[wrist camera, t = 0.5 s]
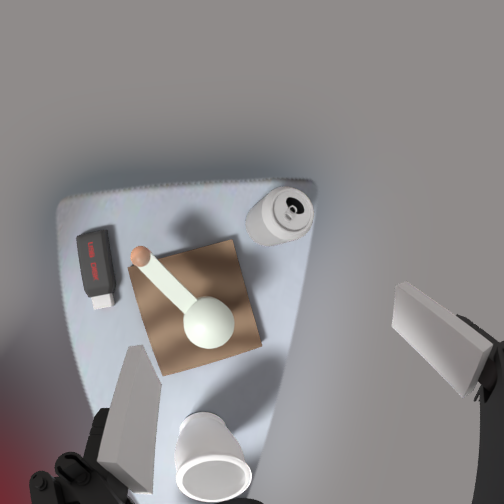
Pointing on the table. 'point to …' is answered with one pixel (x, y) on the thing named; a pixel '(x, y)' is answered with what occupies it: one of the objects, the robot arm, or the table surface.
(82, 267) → the usb drive
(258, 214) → the can
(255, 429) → the table surface
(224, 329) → the tan-tipped lever stick
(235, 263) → the base plate
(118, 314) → the table surface
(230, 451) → the jar
